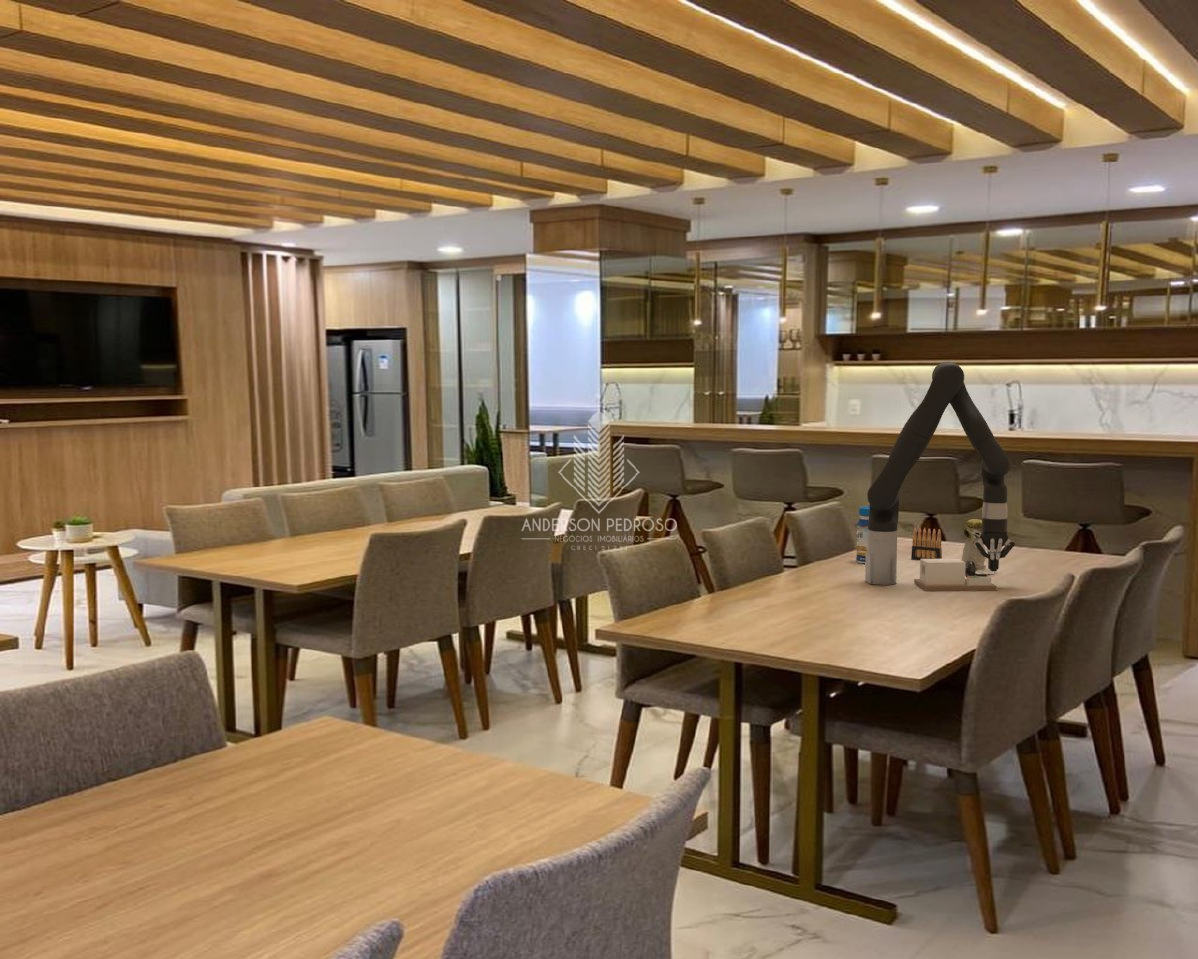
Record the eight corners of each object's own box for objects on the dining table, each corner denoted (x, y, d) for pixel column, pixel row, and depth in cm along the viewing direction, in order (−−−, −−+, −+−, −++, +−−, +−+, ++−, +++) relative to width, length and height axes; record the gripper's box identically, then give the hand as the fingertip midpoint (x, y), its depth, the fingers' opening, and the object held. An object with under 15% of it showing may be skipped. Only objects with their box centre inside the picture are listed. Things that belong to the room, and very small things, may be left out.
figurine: (948, 573, 356) (949, 519, 354) (965, 567, 365) (967, 515, 363) (982, 577, 347) (983, 522, 346) (999, 572, 357) (1000, 518, 355)
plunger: (934, 582, 326) (935, 564, 326) (926, 577, 335) (927, 559, 334) (978, 581, 326) (978, 563, 326) (969, 576, 334) (969, 559, 334)
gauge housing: (925, 591, 326) (926, 564, 325) (914, 583, 338) (914, 557, 337) (996, 590, 326) (997, 563, 325) (982, 583, 338) (983, 557, 337)
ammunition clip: (911, 559, 383) (911, 527, 382) (912, 559, 385) (913, 526, 383) (940, 562, 377) (941, 529, 376) (941, 561, 378) (942, 528, 377)
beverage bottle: (880, 564, 373) (881, 508, 371) (856, 564, 375) (857, 508, 373) (879, 560, 381) (880, 506, 379) (855, 560, 383) (856, 505, 381)
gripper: (977, 518, 326) (976, 573, 328) (1020, 517, 326) (1019, 573, 328) (969, 515, 334) (968, 569, 335) (1011, 514, 333) (1009, 568, 335)
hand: (993, 570), depth 331 cm, fingers closed
